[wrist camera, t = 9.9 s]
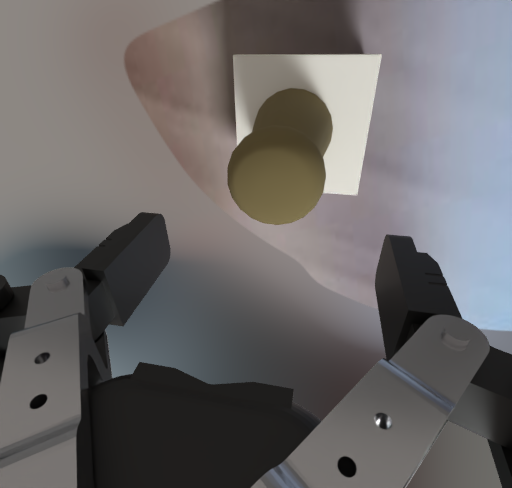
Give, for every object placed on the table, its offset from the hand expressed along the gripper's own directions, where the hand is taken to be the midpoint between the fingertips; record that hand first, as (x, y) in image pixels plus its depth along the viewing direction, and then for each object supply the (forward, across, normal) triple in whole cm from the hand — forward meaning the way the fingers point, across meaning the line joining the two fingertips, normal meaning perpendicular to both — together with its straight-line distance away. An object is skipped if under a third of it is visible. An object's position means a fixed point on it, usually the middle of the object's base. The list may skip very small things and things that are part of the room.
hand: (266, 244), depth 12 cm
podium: (+21, 0, 0) cm, 21 cm away
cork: (+16, +1, 0) cm, 16 cm away
